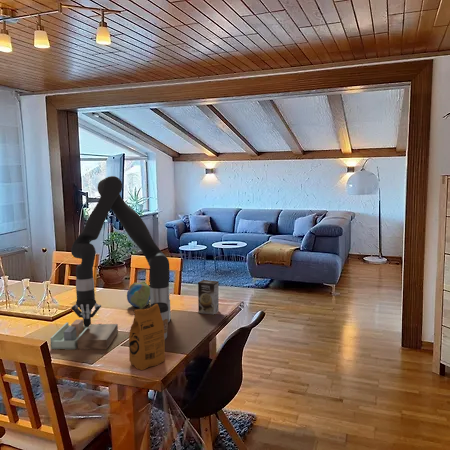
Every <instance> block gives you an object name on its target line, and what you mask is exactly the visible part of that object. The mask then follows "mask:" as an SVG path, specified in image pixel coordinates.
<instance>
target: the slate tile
mask: <svg viewBox="0 0 450 450" xmlns="http://www.w3.org/2000/svg"><path fill="white" fill-rule="evenodd" d="M76 339H77V337H76V327H68V328H67V329H66V330H65V331H64V341H74V340H76Z"/></svg>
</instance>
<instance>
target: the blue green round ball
mask: <svg viewBox="0 0 450 450" xmlns="http://www.w3.org/2000/svg"><path fill="white" fill-rule="evenodd" d="M126 300H127V302H128V304H129V305H131V306H132V307H133V308H134V307H135V308H138V309H144V308H145V307H146V306H148V305H149V306H150V285H149V284H147V282H146V281H142V282H140V281H139V282H133V283H131V284H130V285H129V287H128V290H127V293H126Z"/></svg>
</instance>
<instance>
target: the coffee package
mask: <svg viewBox="0 0 450 450" xmlns="http://www.w3.org/2000/svg"><path fill="white" fill-rule="evenodd" d="M149 307H150V306H149ZM133 314H134V317H133V321H132V325H131V326H130V330H129V333H128V335H129V336H128V347H129V348H128V349H129V355H128V356H129V360H128V361H129V362H130V364H131V366H134V367H135V368H136V369H137V370H139V371H144V370H146V369H147V368H150V367H156V365H157V366H158V365H160V364H162V363H163V362H165V360H166V352H165V351H166V349H165V340H166V339H165V340H164V325H163V320H162V316H161V314H160V309H159V306H158V304H155V305H153V306H152V307H150V308H143V309H140V308H138V309H133Z"/></svg>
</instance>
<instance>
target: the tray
mask: <svg viewBox="0 0 450 450" xmlns="http://www.w3.org/2000/svg"><path fill="white" fill-rule="evenodd" d="M68 327H71V325H69V322H65V323H64V324H63V325H62V326H61V327H60V328H59V329H58V330H57V331H56V332H55V333H54V334H53V335H52V336H50V338H49V339H50V350H51V349H54V351H55V349H56V350H57V349H65V350H76V349H78V344H77V340H78V339H79V338H80V336H81V335H82V334H83V333H84V332H85V331H86V330H87V328H88V327H85V326H84V331H83V332H82V333H81V334H80V335H79V336H78V337H77V339H76V340H74V341H64V331H65V330H66V329H67V328H68Z"/></svg>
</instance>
